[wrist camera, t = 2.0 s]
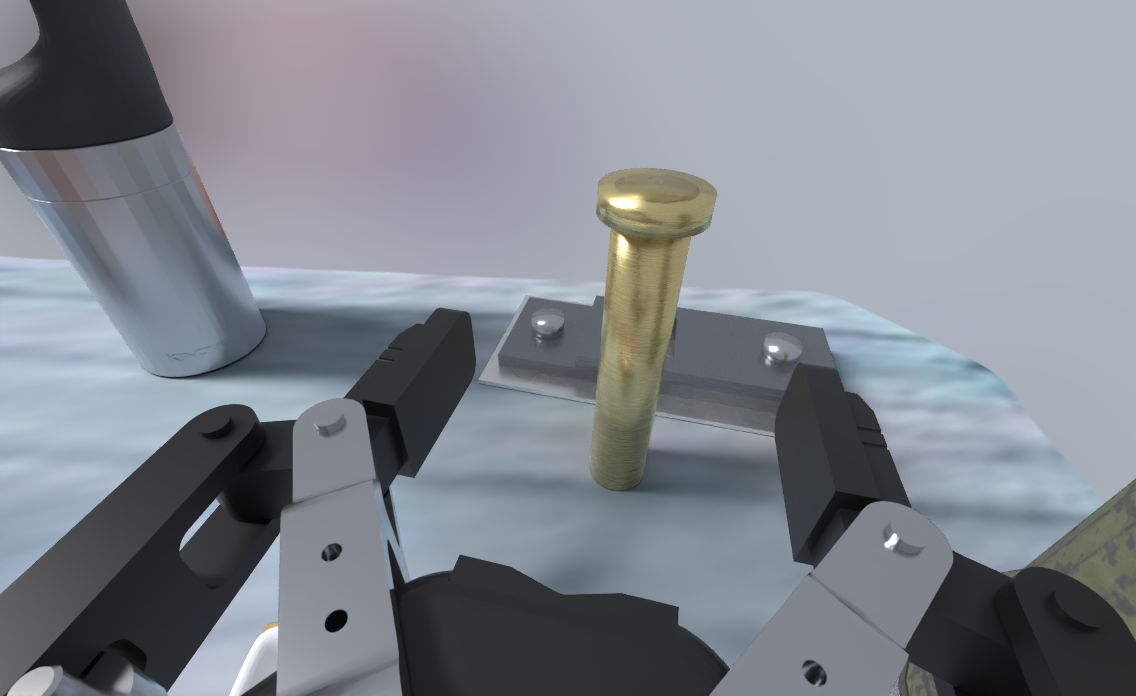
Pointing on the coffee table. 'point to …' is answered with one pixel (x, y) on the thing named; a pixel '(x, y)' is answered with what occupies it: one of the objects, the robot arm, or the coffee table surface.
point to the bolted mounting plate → (692, 370)
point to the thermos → (1079, 569)
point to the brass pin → (640, 307)
